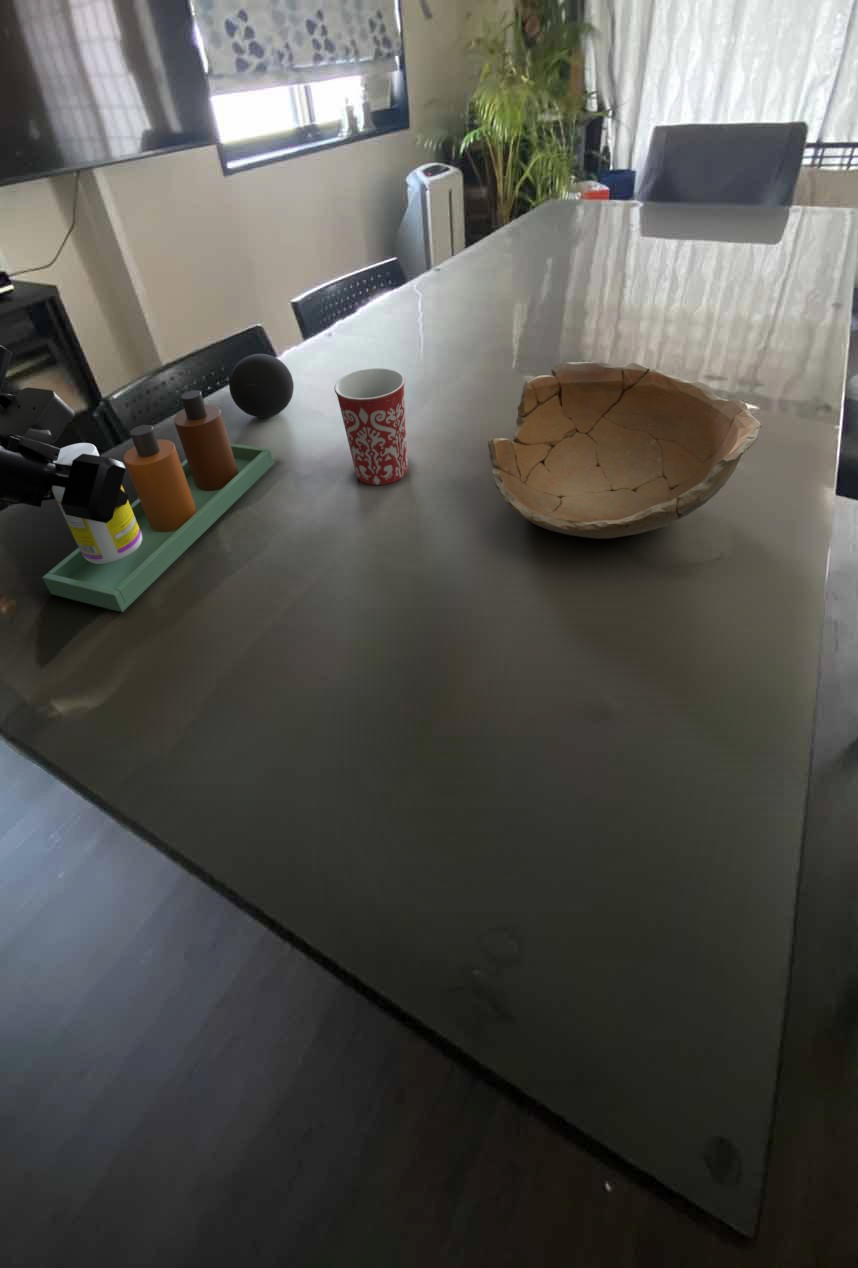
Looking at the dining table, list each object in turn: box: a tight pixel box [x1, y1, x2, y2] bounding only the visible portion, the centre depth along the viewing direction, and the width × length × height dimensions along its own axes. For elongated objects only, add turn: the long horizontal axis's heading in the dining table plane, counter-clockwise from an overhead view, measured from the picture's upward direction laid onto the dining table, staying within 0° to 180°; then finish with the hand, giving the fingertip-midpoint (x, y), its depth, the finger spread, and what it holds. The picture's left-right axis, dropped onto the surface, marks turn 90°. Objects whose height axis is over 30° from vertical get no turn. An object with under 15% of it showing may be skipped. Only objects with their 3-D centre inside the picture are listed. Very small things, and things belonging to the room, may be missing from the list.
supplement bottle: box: [52, 442, 142, 564], centre depth 76 cm, size 7×7×13 cm
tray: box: [42, 442, 275, 613], centre depth 88 cm, size 32×11×3 cm, turn 159°
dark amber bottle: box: [173, 389, 238, 491], centre depth 91 cm, size 6×6×13 cm
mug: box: [333, 367, 409, 486], centre depth 92 cm, size 13×9×14 cm
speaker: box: [228, 353, 295, 418], centre depth 109 cm, size 10×10×10 cm
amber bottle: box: [123, 424, 197, 532], centre depth 84 cm, size 6×6×13 cm
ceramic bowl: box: [487, 361, 763, 539], centre depth 82 cm, size 30×27×15 cm
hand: (102, 495), depth 77 cm, fingers closed on supplement bottle, 6 cm apart
